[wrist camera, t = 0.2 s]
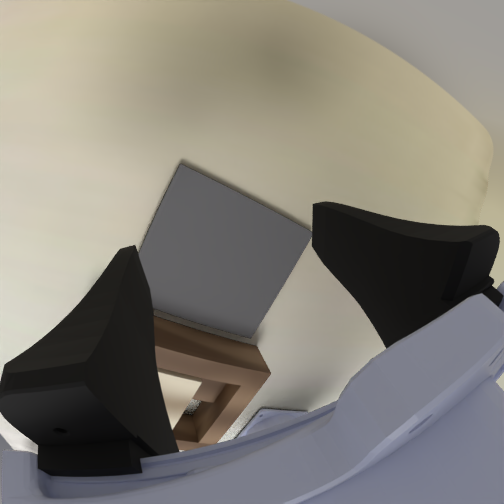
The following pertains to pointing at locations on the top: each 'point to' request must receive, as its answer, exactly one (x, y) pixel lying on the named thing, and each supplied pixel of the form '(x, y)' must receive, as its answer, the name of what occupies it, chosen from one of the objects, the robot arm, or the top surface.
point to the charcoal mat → (218, 254)
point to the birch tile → (177, 392)
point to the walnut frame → (209, 378)
